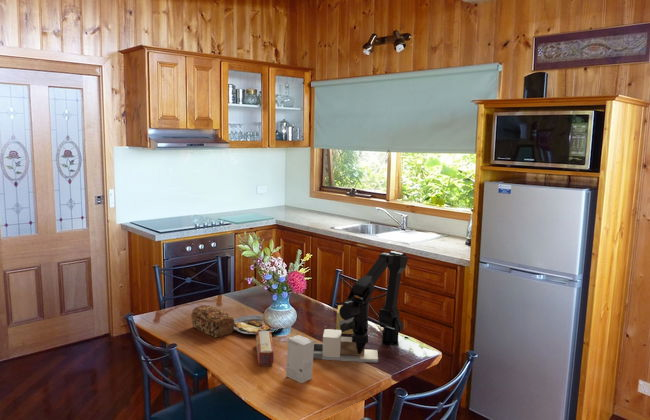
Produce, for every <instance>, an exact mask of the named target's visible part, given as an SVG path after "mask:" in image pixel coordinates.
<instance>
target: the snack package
mask: <svg viewBox="0 0 650 420" xmlns="http://www.w3.org/2000/svg"><path fill="white" fill-rule="evenodd" d="M255 344H256V346H255V347H256V355H257V363H258V365H259V366H260V367H269V366H272V365H273V364H274V362H275V351H274V342H273V335H272V332H269V331H259V332H258V333H257V334H256V335H255Z"/></svg>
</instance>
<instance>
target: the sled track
mask: <svg viewBox="0 0 650 420" xmlns="http://www.w3.org/2000/svg"><path fill="white" fill-rule="evenodd" d="M341 333H342V332H341V330H336V329H328V328H327V329H326V328H325V329H324V330H323V335H322V343H320V342H319V343H316V342H314V353H313V360H327V361H330V360H331V361H342V362H344V361H345V362H362V363H375V364H377V363H378V362H379V355H378V349H365V350H364V356H358V355H341V354H340V345H341V337H342V334H341Z"/></svg>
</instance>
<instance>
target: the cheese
mask: <svg viewBox="0 0 650 420" xmlns="http://www.w3.org/2000/svg"><path fill="white" fill-rule="evenodd" d="M343 305H344V304H343ZM343 305H341V304H339V305H338V306H337V311H336V328H335V330H340V326H339V322H340V321H342V320H344V319H342V318H341V316H340V313H339V310H340V308H341V306H343ZM353 333H354V332H353V331H352V329H350V330H347V331H345V332H342V333H341V335H342V334H344V335H352V334H353Z"/></svg>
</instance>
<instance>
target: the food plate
mask: <svg viewBox="0 0 650 420" xmlns="http://www.w3.org/2000/svg"><path fill="white" fill-rule="evenodd" d="M263 315H264V314H249V315H242V316H240V317H235V318H233V319H234V330H233V331H237V332H239V333H241V334H244V335H250V336H251V335H253V336H254V335H255V336H256V335H257V333H258V332H259V331H269V332H271V333H275V332H274V331H270V328H269V327H268V326H267V325H266V324H265V322H264V321H263ZM247 323H248V324H247Z"/></svg>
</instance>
